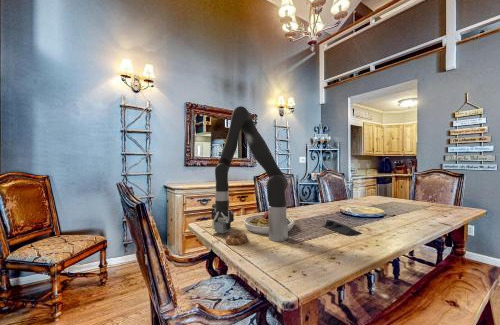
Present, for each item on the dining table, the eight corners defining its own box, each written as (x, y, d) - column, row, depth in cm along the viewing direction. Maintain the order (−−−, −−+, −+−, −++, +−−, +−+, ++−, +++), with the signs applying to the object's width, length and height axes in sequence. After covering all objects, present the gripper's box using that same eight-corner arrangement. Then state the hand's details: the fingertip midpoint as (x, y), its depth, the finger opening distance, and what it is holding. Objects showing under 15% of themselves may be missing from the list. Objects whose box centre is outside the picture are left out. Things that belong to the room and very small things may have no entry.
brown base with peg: (231, 234, 127) (231, 223, 127) (223, 237, 121) (223, 226, 121) (221, 231, 131) (221, 221, 131) (213, 235, 125) (213, 224, 125)
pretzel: (231, 248, 107) (231, 240, 107) (221, 241, 116) (221, 234, 116) (252, 243, 114) (252, 235, 114) (241, 236, 123) (241, 230, 123)
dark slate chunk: (343, 239, 120) (343, 230, 120) (319, 227, 141) (319, 219, 141) (366, 236, 124) (366, 227, 124) (340, 225, 145) (340, 217, 145)
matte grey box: (229, 230, 127) (229, 221, 127) (223, 233, 122) (223, 224, 122) (221, 228, 130) (221, 220, 130) (214, 231, 125) (214, 222, 125)
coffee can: (229, 225, 145) (229, 203, 144) (227, 230, 134) (227, 206, 134) (213, 225, 145) (213, 203, 145) (210, 230, 134) (210, 206, 134)
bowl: (298, 236, 123) (298, 222, 123) (243, 236, 124) (243, 222, 123) (289, 221, 153) (289, 210, 153) (244, 221, 154) (244, 210, 153)
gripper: (236, 199, 125) (236, 228, 125) (216, 197, 133) (217, 224, 133) (228, 201, 119) (228, 232, 119) (207, 198, 126) (208, 227, 127)
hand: (222, 228), depth 126 cm, fingers open, 8 cm apart
